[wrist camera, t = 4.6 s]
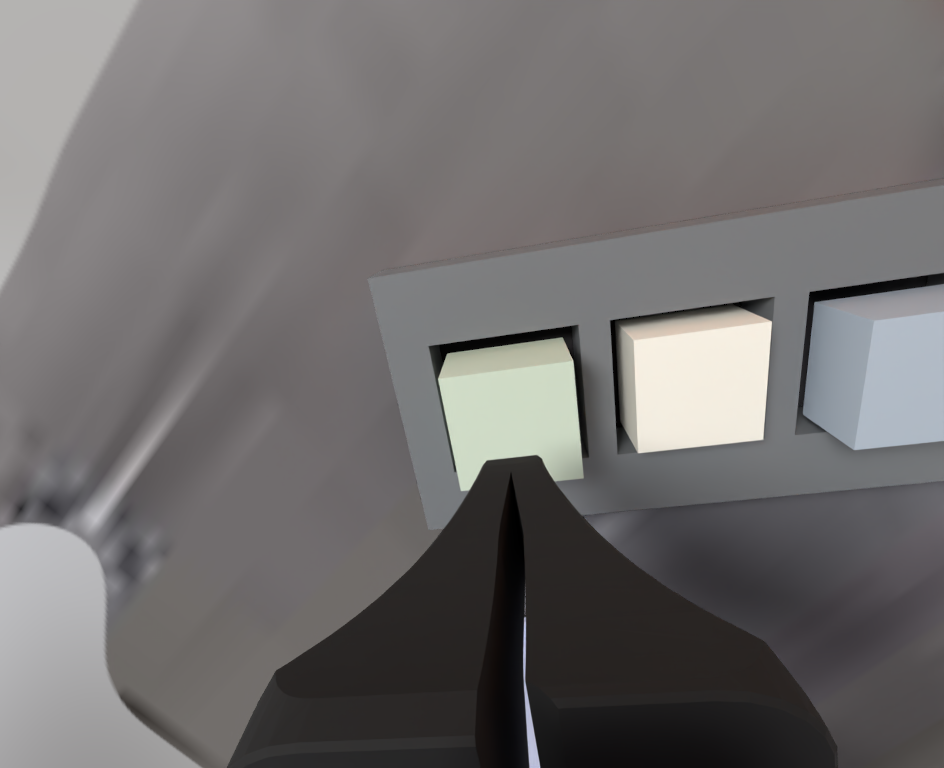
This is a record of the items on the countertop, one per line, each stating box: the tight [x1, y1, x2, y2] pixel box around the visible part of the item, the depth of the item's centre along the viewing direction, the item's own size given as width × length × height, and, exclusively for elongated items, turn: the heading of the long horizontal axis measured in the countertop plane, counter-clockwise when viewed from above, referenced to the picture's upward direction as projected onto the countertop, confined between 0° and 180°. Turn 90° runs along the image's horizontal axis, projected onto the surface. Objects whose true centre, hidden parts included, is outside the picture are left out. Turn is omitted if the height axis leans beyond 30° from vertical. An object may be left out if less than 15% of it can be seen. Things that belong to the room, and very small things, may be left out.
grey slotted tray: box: [368, 178, 944, 530], centre depth 16 cm, size 10×26×2 cm, turn 99°
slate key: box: [803, 284, 944, 450], centre depth 14 cm, size 4×4×2 cm
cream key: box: [615, 304, 772, 453], centre depth 16 cm, size 4×4×2 cm
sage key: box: [438, 337, 584, 491], centre depth 15 cm, size 4×4×2 cm
